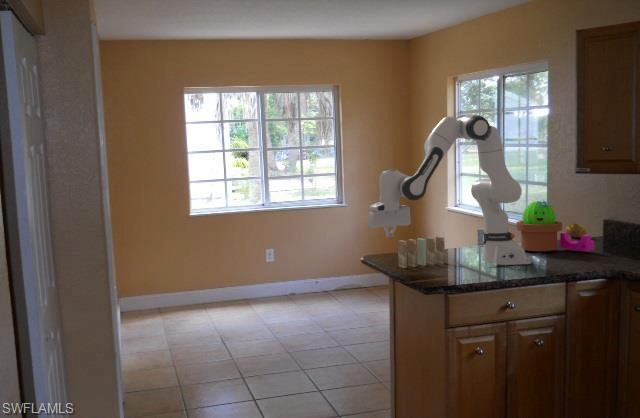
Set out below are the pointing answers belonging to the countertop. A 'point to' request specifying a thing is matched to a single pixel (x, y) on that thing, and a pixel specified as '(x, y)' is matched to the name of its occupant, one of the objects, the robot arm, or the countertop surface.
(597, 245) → the countertop surface
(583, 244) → the magenta tape dispenser
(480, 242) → the medicine box
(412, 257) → the domino
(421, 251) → the sage domino
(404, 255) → the domino far end
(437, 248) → the domino
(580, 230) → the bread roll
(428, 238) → the domino
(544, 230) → the potted cactus
